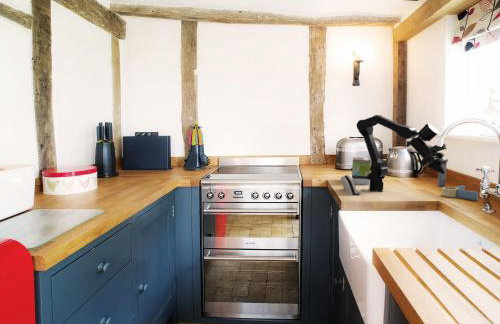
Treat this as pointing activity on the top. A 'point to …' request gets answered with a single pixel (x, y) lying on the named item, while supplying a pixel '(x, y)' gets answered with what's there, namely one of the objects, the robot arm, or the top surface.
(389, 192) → the top surface
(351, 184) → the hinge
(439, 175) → the pin
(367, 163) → the tea box
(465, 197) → the hinge barrel
